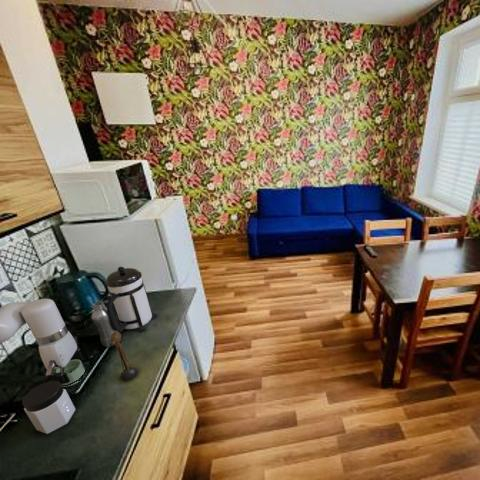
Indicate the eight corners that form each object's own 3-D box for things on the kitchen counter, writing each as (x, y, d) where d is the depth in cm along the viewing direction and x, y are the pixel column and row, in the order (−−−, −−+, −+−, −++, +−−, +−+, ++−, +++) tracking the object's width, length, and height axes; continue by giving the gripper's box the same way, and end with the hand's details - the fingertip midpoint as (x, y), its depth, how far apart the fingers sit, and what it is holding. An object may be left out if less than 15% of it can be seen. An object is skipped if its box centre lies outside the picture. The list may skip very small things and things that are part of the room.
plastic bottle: (103, 351, 108) (87, 311, 100) (102, 341, 112) (86, 302, 105) (122, 344, 111) (108, 304, 104) (120, 335, 116) (107, 296, 109)
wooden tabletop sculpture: (133, 382, 95) (118, 339, 87) (118, 385, 94) (101, 341, 86) (139, 369, 100) (124, 327, 92) (124, 371, 99) (109, 329, 91)
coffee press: (113, 323, 123) (93, 266, 111) (152, 309, 133) (137, 255, 121) (119, 345, 111) (96, 283, 99) (161, 327, 121) (145, 270, 109)
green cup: (54, 390, 92) (48, 379, 89) (65, 373, 98) (60, 362, 96) (80, 384, 94) (75, 373, 92) (90, 368, 100) (85, 357, 98)
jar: (63, 430, 80) (48, 403, 75) (30, 437, 78) (12, 410, 73) (80, 403, 88) (67, 377, 83) (50, 408, 86) (35, 382, 81)
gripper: (52, 320, 94) (70, 355, 101) (20, 356, 79) (44, 396, 86) (78, 315, 97) (94, 350, 103) (51, 350, 82) (72, 389, 88)
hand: (71, 371), depth 95 cm, fingers open, 9 cm apart
